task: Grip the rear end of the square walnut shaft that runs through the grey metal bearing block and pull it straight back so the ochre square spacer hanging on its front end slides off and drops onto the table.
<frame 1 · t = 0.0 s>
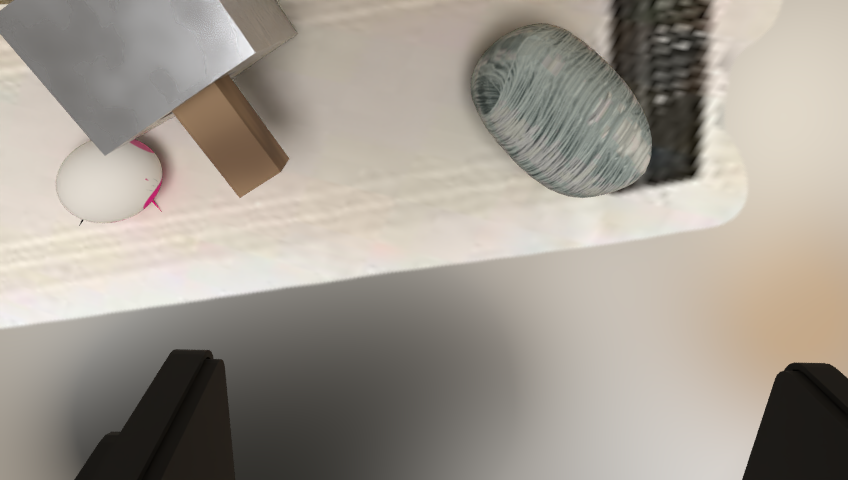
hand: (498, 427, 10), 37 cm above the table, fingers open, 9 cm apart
bearing block: (205, 22, 42), on the table
shaft: (160, 39, 34), point 9 cm above the table, slide at 0.0 cm, touching spacer
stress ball: (133, 174, 47), on the table
spool: (548, 104, 46), on the table
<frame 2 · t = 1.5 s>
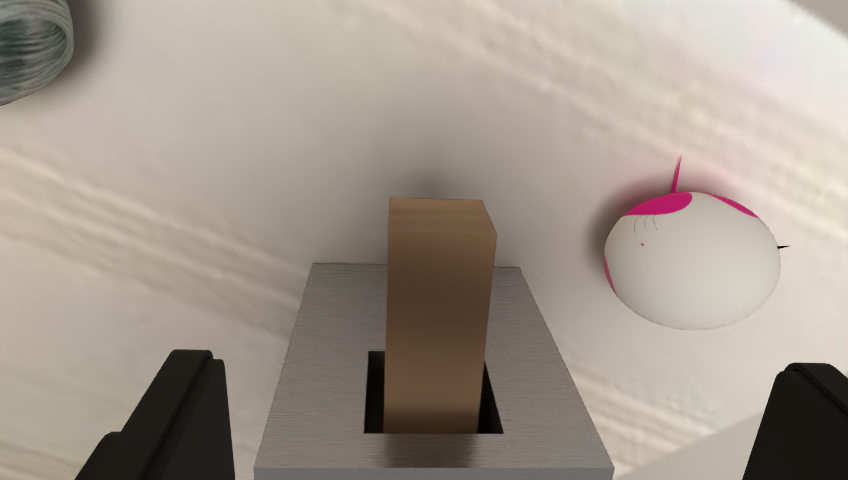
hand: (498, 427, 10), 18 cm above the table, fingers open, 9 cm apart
bearing block: (413, 337, 31), on the table
shaft: (424, 463, 22), point 9 cm above the table, slide at 0.0 cm, touching spacer
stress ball: (663, 223, 29), on the table
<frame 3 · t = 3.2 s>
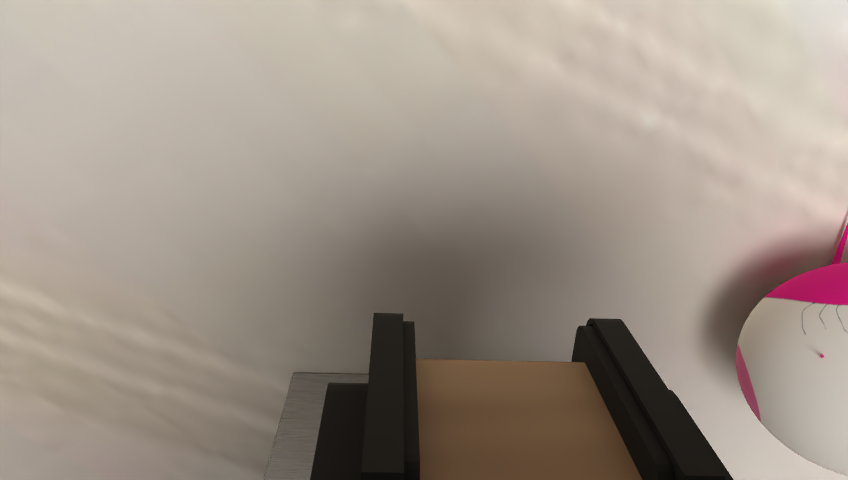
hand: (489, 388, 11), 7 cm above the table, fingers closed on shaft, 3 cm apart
bearing block: (438, 469, 22), on the table
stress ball: (813, 297, 20), on the table
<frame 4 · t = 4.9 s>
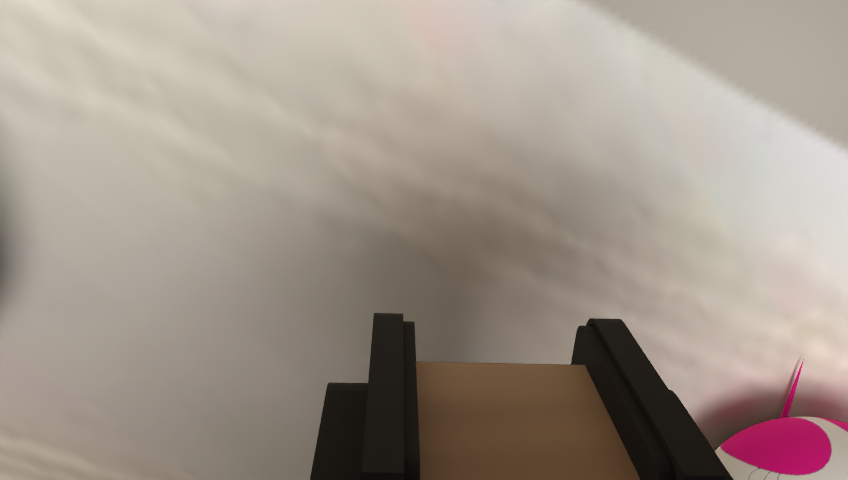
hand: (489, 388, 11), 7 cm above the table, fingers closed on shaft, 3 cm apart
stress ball: (768, 434, 22), on the table
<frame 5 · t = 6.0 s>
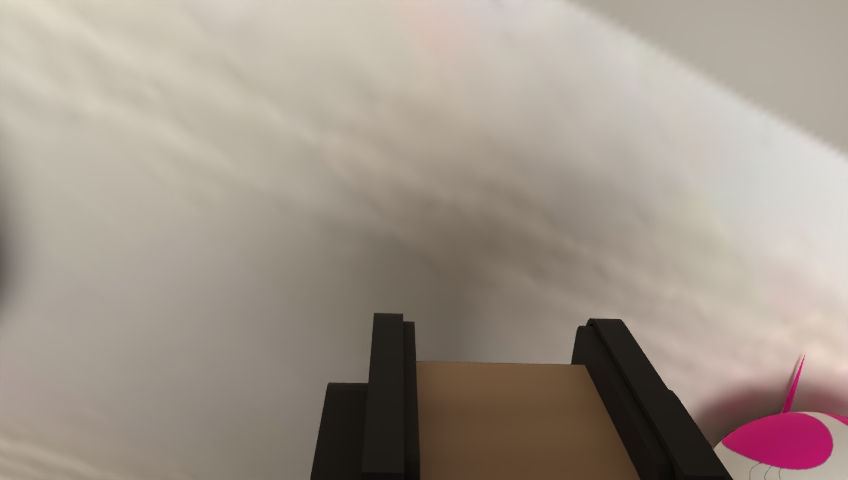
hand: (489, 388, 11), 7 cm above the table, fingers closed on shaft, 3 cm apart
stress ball: (769, 430, 22), on the table
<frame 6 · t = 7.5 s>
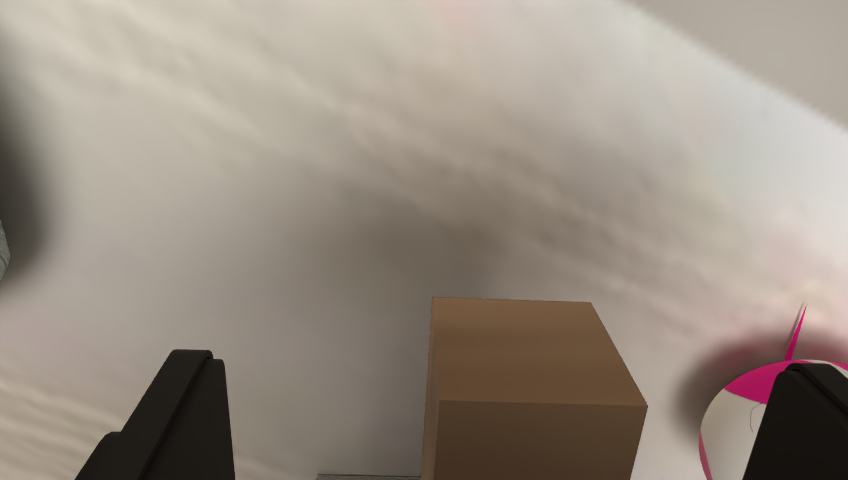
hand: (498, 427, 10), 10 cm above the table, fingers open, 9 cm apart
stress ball: (771, 381, 22), on the table
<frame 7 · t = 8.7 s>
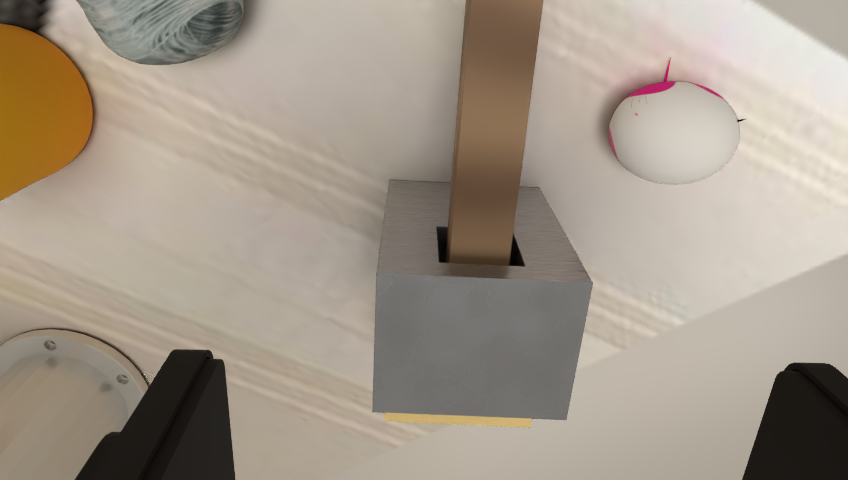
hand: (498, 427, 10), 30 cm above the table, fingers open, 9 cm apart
spacer: (452, 318, 44), on the table
bearing block: (459, 238, 42), on the table
shaft: (483, 189, 30), point 9 cm above the table, slide at 6.4 cm
beer bottle: (24, 98, 38), on the table
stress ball: (656, 112, 39), on the table
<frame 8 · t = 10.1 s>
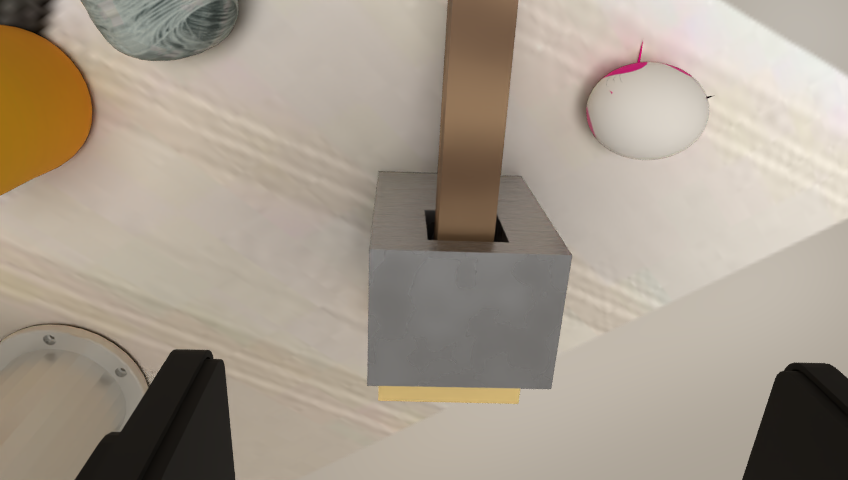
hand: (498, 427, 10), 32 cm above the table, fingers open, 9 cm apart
spacer: (441, 306, 46), on the table
bearing block: (446, 227, 44), on the table
shaft: (467, 171, 32), point 10 cm above the table, slide at 6.4 cm
beer bottle: (25, 97, 39), on the table
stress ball: (631, 93, 41), on the table
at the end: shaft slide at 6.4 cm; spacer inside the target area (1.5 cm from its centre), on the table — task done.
